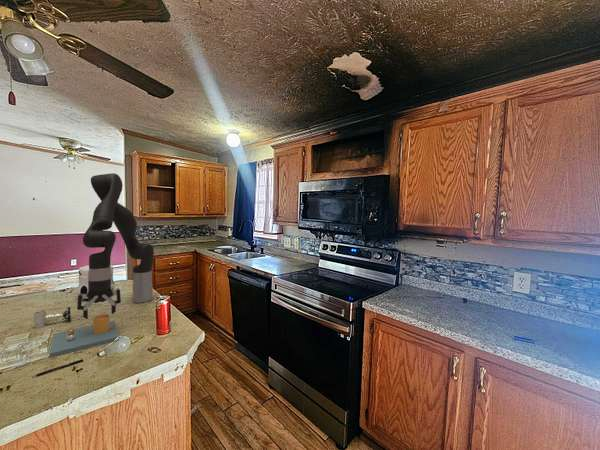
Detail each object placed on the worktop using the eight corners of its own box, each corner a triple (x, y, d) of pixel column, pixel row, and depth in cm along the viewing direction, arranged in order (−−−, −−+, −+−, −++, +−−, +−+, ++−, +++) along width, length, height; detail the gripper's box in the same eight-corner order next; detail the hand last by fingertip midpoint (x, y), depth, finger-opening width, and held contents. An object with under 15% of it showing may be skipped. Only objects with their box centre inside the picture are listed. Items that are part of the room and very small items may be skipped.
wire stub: (75, 337, 101) (75, 327, 100) (75, 339, 99) (75, 330, 98) (66, 339, 99) (66, 329, 99) (66, 341, 97) (66, 331, 97)
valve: (32, 330, 107) (70, 322, 116) (32, 315, 107) (70, 309, 115) (34, 325, 112) (70, 318, 120) (33, 310, 112) (70, 304, 120)
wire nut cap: (108, 326, 110) (108, 313, 110) (109, 331, 106) (109, 317, 106) (93, 330, 107) (93, 316, 106) (93, 334, 103) (93, 320, 102)
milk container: (76, 295, 149) (76, 265, 148) (112, 289, 161) (112, 262, 160) (77, 304, 137) (77, 271, 136) (116, 297, 148) (116, 267, 147)
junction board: (114, 323, 116) (114, 320, 116) (118, 340, 102) (118, 336, 102) (54, 337, 103) (53, 333, 103) (49, 357, 89) (49, 353, 89)
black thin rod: (32, 379, 79) (32, 376, 79) (32, 377, 79) (32, 374, 79) (83, 362, 88) (83, 359, 88) (82, 361, 89) (82, 358, 88)
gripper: (119, 274, 112) (119, 309, 113) (77, 278, 103) (77, 316, 104) (121, 277, 107) (121, 315, 108) (76, 282, 98) (76, 323, 98)
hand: (99, 315), depth 106 cm, fingers open, 8 cm apart
